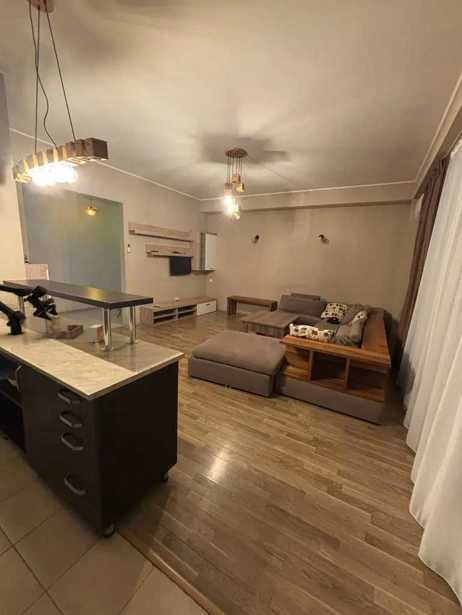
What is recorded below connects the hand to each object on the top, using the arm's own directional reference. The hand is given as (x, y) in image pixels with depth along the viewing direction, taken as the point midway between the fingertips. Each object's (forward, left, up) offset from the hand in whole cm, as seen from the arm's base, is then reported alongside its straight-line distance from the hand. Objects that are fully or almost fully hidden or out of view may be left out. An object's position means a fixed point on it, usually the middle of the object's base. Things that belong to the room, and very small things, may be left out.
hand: (55, 318), depth 171 cm
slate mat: (0, 0, -12) cm, 12 cm away
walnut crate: (+8, +4, -12) cm, 15 cm away
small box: (+33, +4, -12) cm, 35 cm away
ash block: (0, 0, -11) cm, 11 cm away
